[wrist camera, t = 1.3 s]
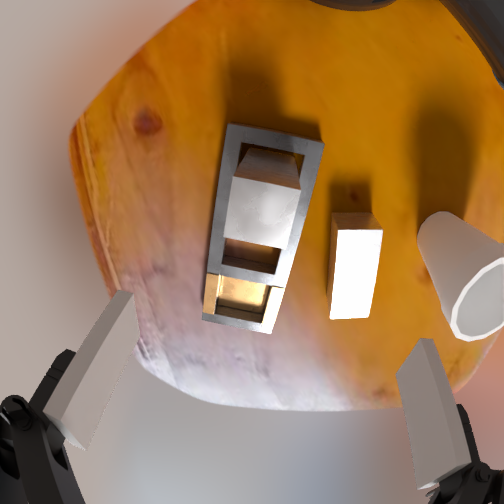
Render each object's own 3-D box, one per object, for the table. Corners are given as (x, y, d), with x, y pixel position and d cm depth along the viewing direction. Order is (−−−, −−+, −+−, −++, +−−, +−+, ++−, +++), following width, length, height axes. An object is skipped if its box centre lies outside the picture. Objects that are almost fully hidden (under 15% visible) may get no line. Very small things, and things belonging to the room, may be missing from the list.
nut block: (331, 211, 31) (338, 230, 28) (371, 211, 31) (383, 229, 27) (326, 294, 37) (330, 318, 33) (360, 293, 36) (367, 316, 32)
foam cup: (415, 279, 34) (453, 354, 23) (395, 219, 31) (444, 289, 20) (474, 248, 31) (526, 311, 20) (461, 186, 28) (529, 238, 16)
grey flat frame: (231, 121, 28) (227, 123, 26) (321, 140, 28) (324, 144, 26) (205, 309, 40) (201, 320, 38) (271, 323, 40) (270, 334, 38)
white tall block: (249, 147, 29) (232, 176, 19) (294, 156, 29) (301, 190, 19) (242, 189, 31) (223, 236, 21) (285, 197, 31) (285, 249, 21)
